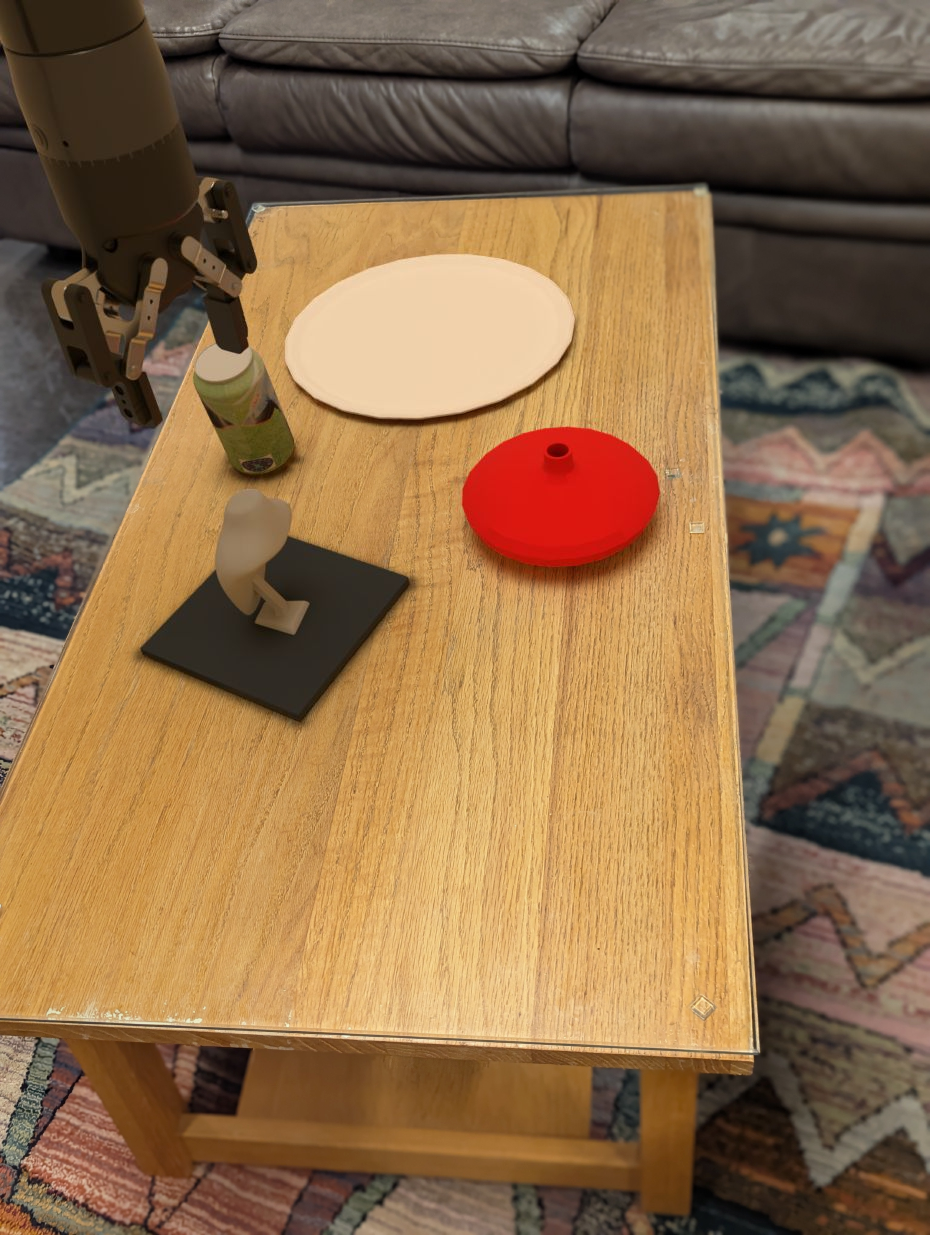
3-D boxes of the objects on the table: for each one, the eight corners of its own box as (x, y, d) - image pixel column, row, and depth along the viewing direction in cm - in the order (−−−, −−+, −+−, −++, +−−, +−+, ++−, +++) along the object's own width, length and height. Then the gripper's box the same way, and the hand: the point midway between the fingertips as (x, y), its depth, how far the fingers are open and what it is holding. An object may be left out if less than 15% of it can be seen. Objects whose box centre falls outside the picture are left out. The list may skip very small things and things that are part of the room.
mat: (300, 722, 76) (297, 715, 76) (142, 655, 82) (139, 648, 82) (410, 583, 85) (408, 576, 84) (259, 532, 91) (257, 525, 90)
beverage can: (303, 437, 99) (273, 323, 90) (286, 490, 94) (252, 374, 85) (238, 438, 100) (201, 325, 91) (217, 490, 95) (177, 376, 86)
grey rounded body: (263, 577, 86) (223, 459, 77) (325, 584, 84) (291, 465, 76) (226, 647, 81) (178, 529, 72) (291, 656, 80) (251, 537, 71)
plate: (570, 253, 117) (569, 242, 116) (581, 416, 97) (581, 405, 96) (306, 273, 119) (303, 262, 119) (264, 436, 100) (261, 425, 99)
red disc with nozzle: (479, 455, 95) (472, 388, 90) (662, 458, 92) (665, 389, 87) (450, 583, 84) (440, 515, 79) (655, 591, 81) (658, 522, 76)
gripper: (61, 195, 50) (164, 466, 62) (245, 77, 58) (306, 337, 70) (-48, 172, 53) (70, 435, 65) (142, 63, 61) (216, 315, 73)
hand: (192, 384), depth 68 cm, fingers open, 8 cm apart
